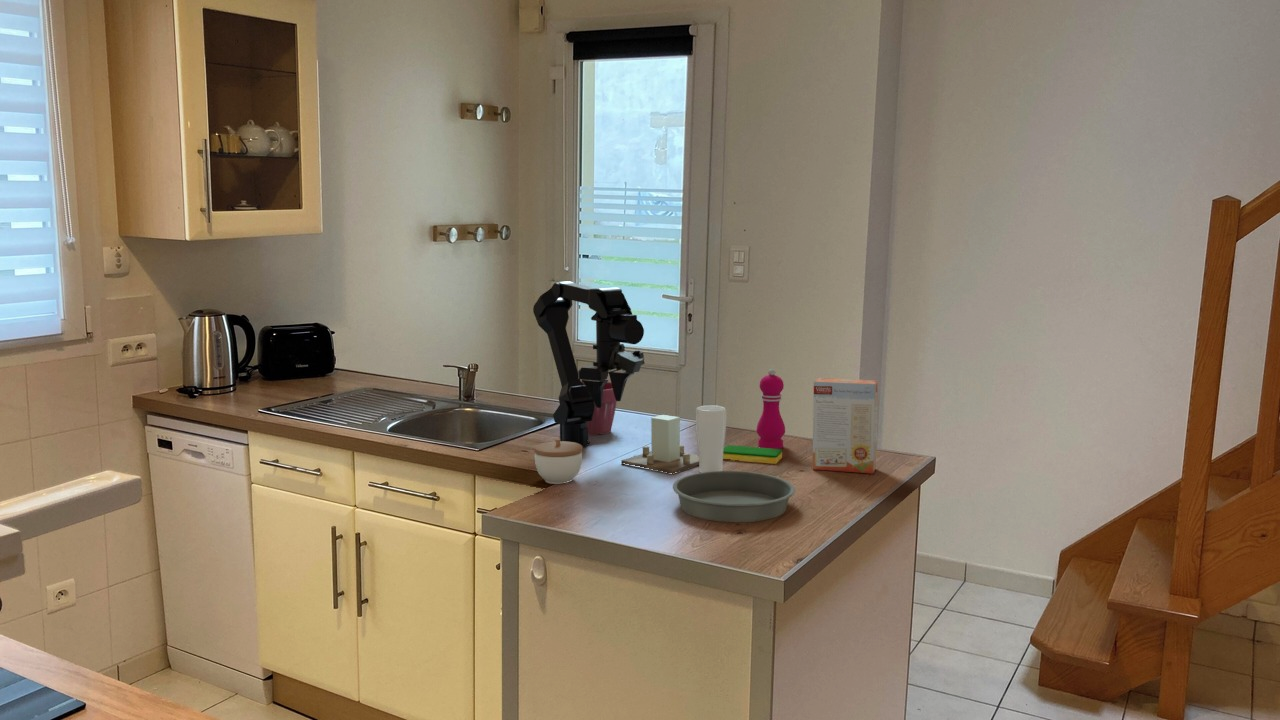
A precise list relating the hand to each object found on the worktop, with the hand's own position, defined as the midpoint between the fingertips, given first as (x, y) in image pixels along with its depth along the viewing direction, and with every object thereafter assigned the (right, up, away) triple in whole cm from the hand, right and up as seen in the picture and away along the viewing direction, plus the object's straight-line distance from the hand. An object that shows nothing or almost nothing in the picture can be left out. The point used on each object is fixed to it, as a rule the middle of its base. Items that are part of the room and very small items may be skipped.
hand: (608, 404), depth 241 cm
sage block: (+14, -13, -4) cm, 19 cm away
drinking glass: (+24, -15, -13) cm, 31 cm away
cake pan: (+26, -19, -39) cm, 51 cm away
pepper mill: (+41, -12, +12) cm, 44 cm away
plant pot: (-5, -9, +30) cm, 32 cm away
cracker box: (+55, -15, -10) cm, 58 cm away
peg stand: (+14, -14, -4) cm, 20 cm away
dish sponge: (+34, -14, 0) cm, 37 cm away
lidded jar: (-11, -16, -19) cm, 27 cm away
